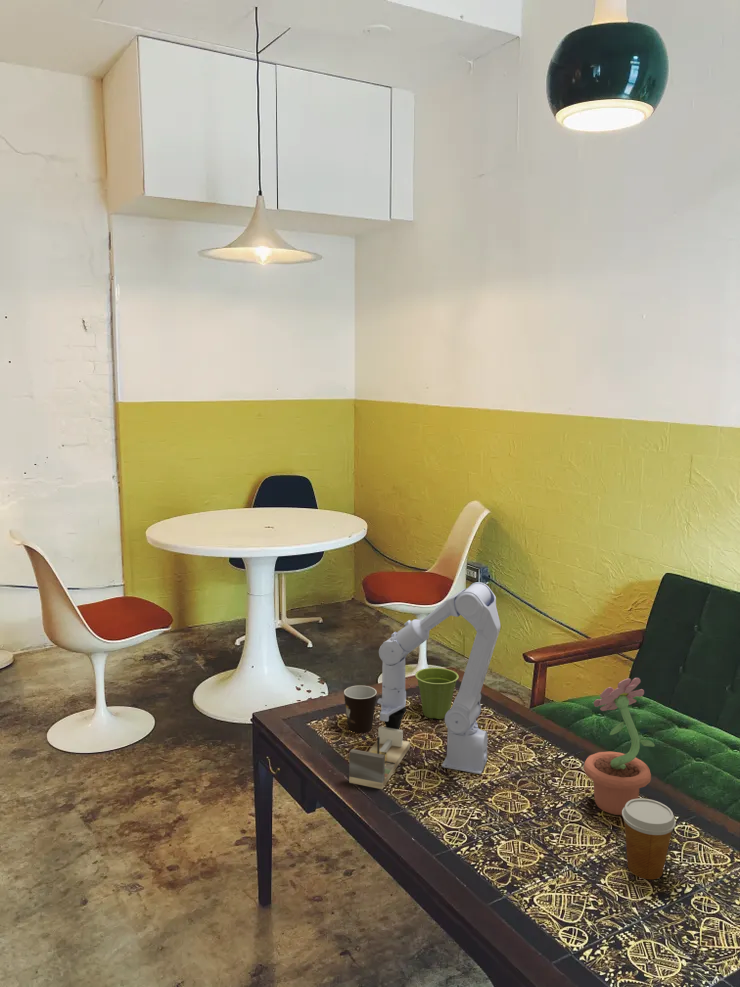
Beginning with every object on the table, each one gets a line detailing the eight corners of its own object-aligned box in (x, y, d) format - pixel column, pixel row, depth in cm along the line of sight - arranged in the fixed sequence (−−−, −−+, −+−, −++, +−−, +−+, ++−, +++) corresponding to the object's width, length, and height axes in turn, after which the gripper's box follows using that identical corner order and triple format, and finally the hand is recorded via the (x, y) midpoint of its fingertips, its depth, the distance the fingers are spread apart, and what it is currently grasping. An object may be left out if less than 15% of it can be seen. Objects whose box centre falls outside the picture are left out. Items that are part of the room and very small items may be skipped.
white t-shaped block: (379, 741, 193) (379, 726, 192) (402, 745, 191) (402, 730, 190) (367, 756, 185) (368, 741, 184) (391, 761, 183) (391, 745, 182)
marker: (372, 757, 184) (372, 734, 183) (396, 762, 182) (396, 738, 181) (369, 761, 183) (369, 737, 182) (393, 766, 181) (393, 742, 180)
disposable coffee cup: (629, 847, 153) (633, 791, 151) (678, 867, 147) (683, 809, 145) (610, 871, 146) (614, 812, 144) (661, 892, 140) (666, 831, 138)
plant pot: (464, 711, 214) (465, 672, 213) (445, 727, 204) (446, 687, 203) (427, 701, 221) (427, 663, 219) (406, 716, 211) (407, 677, 209)
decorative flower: (626, 784, 177) (634, 659, 172) (666, 817, 164) (676, 682, 159) (569, 794, 172) (576, 666, 168) (606, 829, 159) (614, 691, 155)
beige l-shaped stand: (379, 742, 196) (380, 714, 195) (409, 747, 193) (410, 719, 192) (349, 782, 177) (349, 751, 175) (382, 789, 174) (382, 758, 173)
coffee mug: (376, 735, 199) (376, 699, 198) (342, 735, 200) (343, 698, 198) (376, 716, 211) (377, 681, 209) (345, 715, 211) (345, 680, 210)
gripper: (388, 672, 199) (387, 721, 201) (368, 693, 185) (367, 746, 188) (414, 676, 196) (413, 726, 199) (396, 698, 183) (395, 751, 185)
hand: (393, 736), depth 193 cm, fingers closed
